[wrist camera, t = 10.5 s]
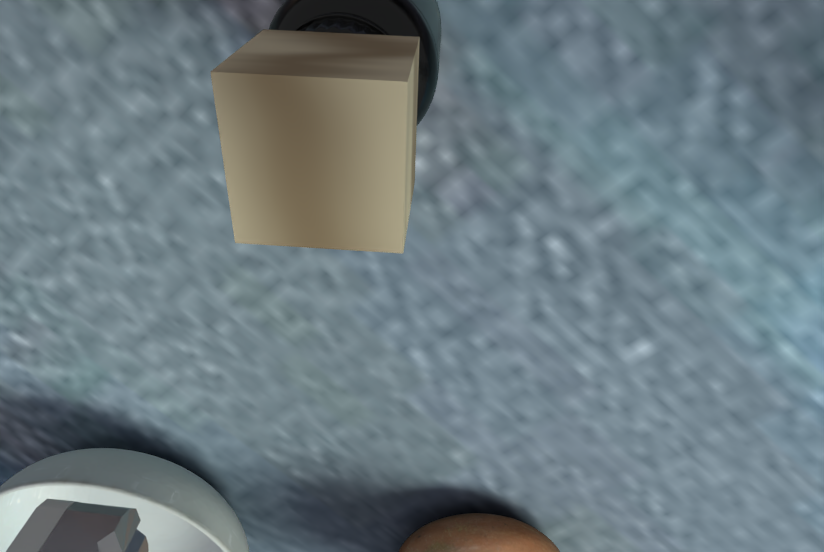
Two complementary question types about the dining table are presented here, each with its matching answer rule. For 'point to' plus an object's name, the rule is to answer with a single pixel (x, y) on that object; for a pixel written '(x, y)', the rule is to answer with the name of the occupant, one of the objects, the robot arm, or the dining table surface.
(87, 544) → the robot arm
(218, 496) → the serving bowl
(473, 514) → the ceramic jug
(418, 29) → the supplement bottle
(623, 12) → the dining table surface
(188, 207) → the dining table surface
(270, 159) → the oak cube
